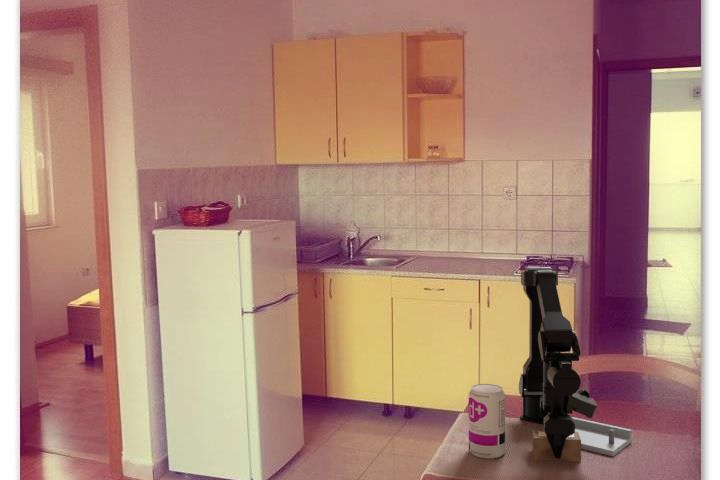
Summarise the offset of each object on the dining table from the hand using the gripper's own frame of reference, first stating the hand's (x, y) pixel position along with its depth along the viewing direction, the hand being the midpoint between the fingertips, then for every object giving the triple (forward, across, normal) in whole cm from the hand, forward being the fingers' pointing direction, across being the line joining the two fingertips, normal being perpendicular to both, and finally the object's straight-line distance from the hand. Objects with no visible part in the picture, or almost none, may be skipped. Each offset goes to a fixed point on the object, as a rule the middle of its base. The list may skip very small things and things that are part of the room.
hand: (556, 450), depth 158 cm
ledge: (+1, +10, -7) cm, 13 cm away
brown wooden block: (+2, 0, 0) cm, 2 cm away
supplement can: (+2, 0, +15) cm, 15 cm away
